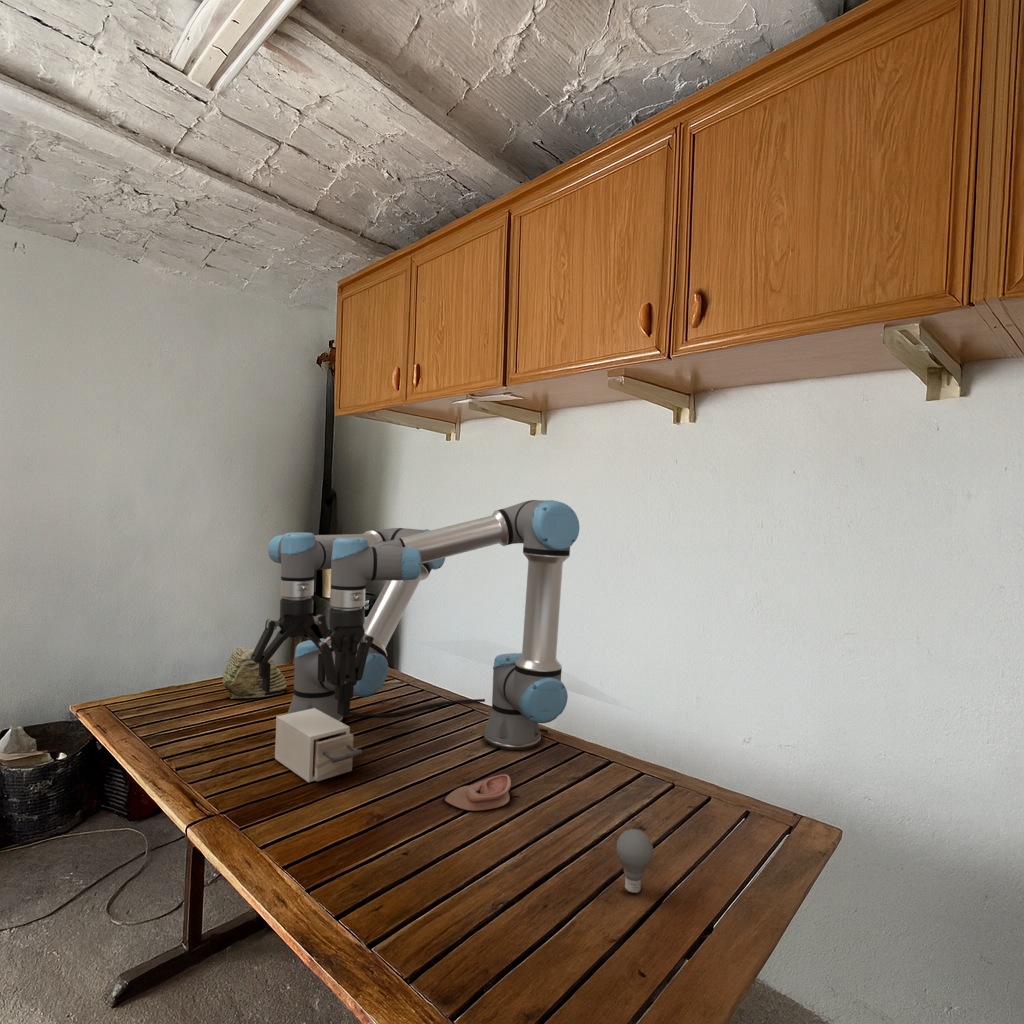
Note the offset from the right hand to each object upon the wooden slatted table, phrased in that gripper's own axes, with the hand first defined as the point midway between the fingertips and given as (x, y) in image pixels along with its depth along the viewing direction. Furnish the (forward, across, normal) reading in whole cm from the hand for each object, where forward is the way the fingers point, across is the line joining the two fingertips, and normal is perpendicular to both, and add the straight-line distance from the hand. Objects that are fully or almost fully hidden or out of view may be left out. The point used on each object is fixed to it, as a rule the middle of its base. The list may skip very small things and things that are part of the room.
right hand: (343, 713), depth 140 cm
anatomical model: (+16, +18, -25) cm, 35 cm away
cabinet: (+16, 0, +14) cm, 21 cm away
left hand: (-2, -2, +19) cm, 19 cm away
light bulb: (+16, +16, -66) cm, 69 cm away
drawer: (+15, 0, +8) cm, 17 cm away
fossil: (+16, +12, +71) cm, 74 cm away
